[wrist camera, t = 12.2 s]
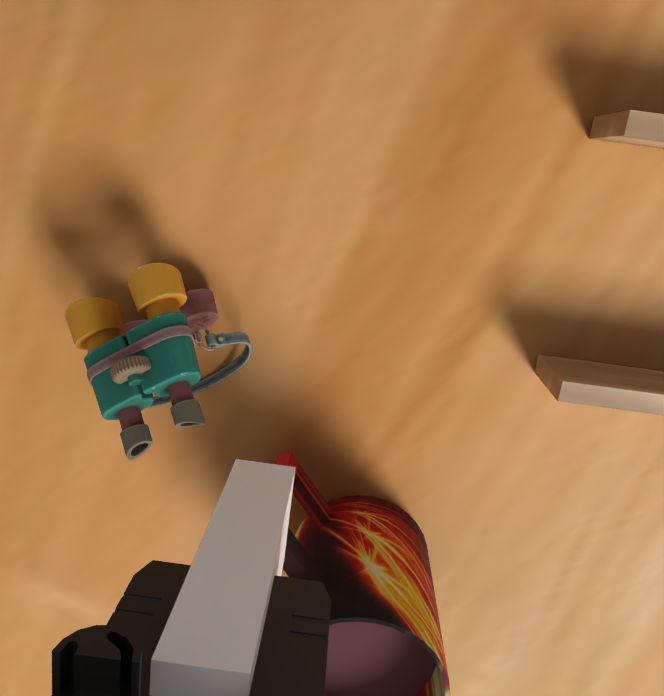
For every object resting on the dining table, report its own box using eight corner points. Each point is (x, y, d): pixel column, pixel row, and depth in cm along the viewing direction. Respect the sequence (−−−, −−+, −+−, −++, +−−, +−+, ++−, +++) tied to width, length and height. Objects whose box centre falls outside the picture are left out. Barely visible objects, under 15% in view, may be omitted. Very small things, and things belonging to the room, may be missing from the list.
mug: (286, 438, 42) (257, 543, 31) (455, 540, 44) (487, 675, 32) (216, 541, 45) (165, 674, 33) (378, 634, 46) (382, 790, 35)
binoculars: (249, 296, 42) (169, 237, 32) (297, 422, 39) (223, 398, 29) (132, 357, 43) (23, 318, 34) (169, 482, 40) (61, 477, 31)
